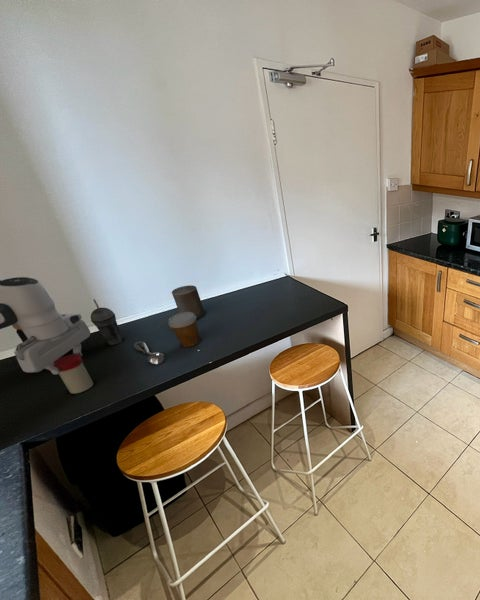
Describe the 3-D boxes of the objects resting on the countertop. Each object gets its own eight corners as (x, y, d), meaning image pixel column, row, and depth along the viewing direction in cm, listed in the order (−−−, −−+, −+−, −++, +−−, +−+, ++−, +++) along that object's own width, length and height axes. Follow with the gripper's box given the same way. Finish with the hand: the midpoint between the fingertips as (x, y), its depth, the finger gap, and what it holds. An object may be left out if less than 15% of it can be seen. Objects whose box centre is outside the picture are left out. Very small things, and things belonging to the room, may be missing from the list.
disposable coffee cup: (208, 335, 132) (200, 311, 127) (196, 349, 124) (186, 323, 118) (185, 336, 132) (176, 311, 127) (171, 349, 124) (161, 324, 118)
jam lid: (87, 361, 102) (84, 357, 101) (60, 373, 97) (57, 369, 96) (76, 356, 105) (73, 352, 104) (50, 368, 99) (47, 363, 98)
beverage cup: (125, 334, 133) (105, 292, 124) (127, 341, 129) (107, 298, 119) (103, 341, 129) (80, 298, 120) (104, 349, 124) (81, 304, 115)
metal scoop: (127, 340, 122) (141, 334, 126) (131, 347, 124) (144, 342, 128) (150, 361, 113) (164, 354, 116) (153, 368, 115) (167, 361, 118)
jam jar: (67, 396, 101) (51, 370, 96) (71, 385, 106) (56, 360, 101) (91, 389, 104) (77, 363, 99) (95, 379, 109) (81, 354, 104)
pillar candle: (208, 310, 152) (199, 282, 145) (199, 320, 144) (189, 291, 137) (187, 311, 151) (177, 283, 144) (177, 321, 143) (165, 292, 136)
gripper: (24, 347, 86) (50, 386, 92) (84, 311, 104) (102, 345, 110) (-1, 349, 85) (27, 387, 91) (63, 312, 103) (83, 346, 109)
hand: (68, 364), depth 101 cm, fingers closed on jam lid, 6 cm apart
